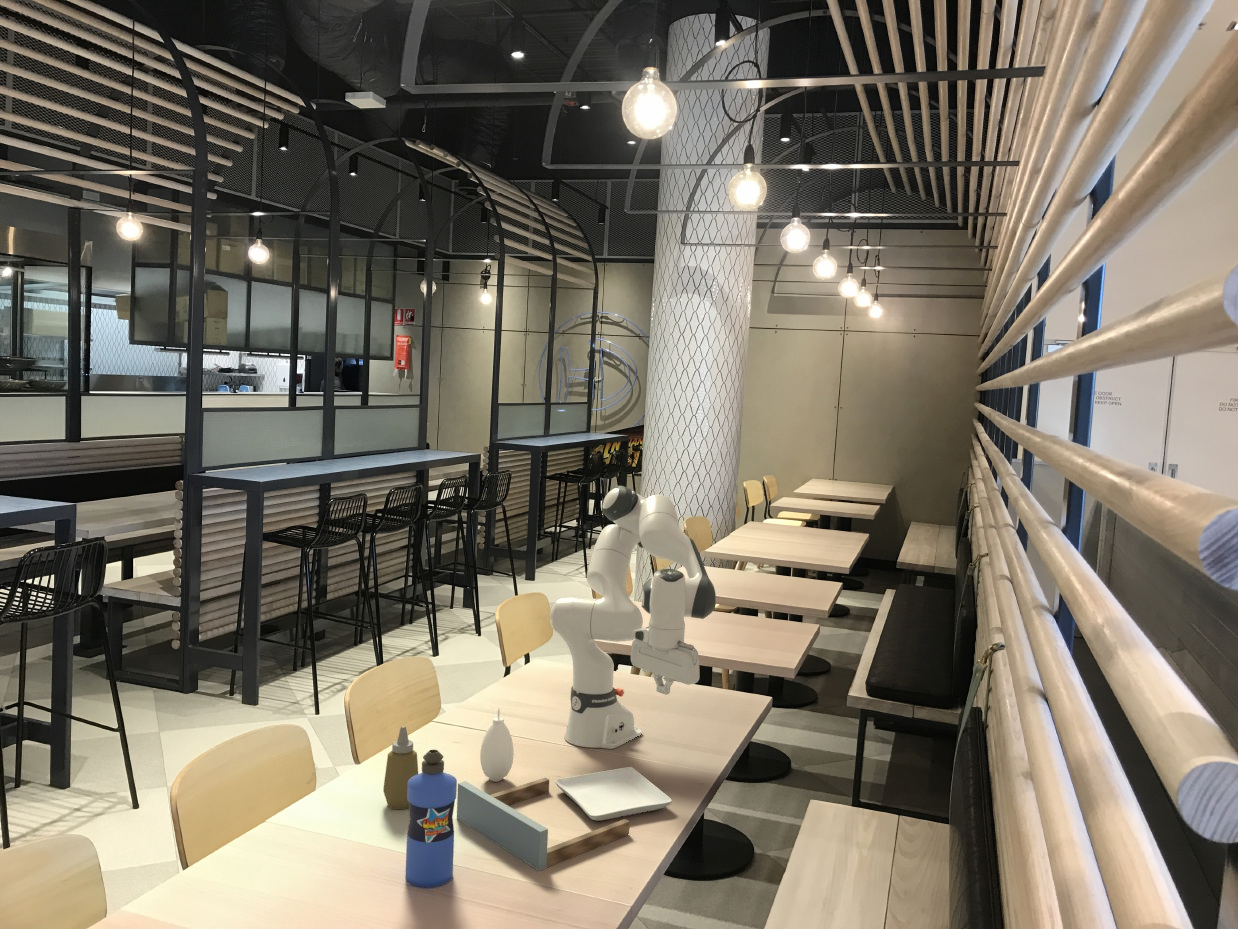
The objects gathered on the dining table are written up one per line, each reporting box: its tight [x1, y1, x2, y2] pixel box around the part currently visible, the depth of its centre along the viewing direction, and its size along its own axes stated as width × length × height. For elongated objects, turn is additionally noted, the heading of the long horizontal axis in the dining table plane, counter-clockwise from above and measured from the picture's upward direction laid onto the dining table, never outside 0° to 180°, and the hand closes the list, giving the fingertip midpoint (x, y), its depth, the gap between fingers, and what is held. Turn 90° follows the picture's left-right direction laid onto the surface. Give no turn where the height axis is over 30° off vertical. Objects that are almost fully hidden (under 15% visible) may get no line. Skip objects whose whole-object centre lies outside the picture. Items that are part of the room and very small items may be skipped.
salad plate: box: [554, 766, 673, 822], centre depth 223 cm, size 21×21×3 cm
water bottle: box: [405, 749, 458, 889], centre depth 184 cm, size 9×9×25 cm
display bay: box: [456, 777, 630, 872], centre depth 208 cm, size 25×29×8 cm
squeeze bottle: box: [383, 725, 419, 810], centre depth 215 cm, size 8×8×18 cm
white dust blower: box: [479, 707, 515, 783], centre depth 231 cm, size 8×8×18 cm
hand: (663, 693), depth 232 cm, fingers closed
